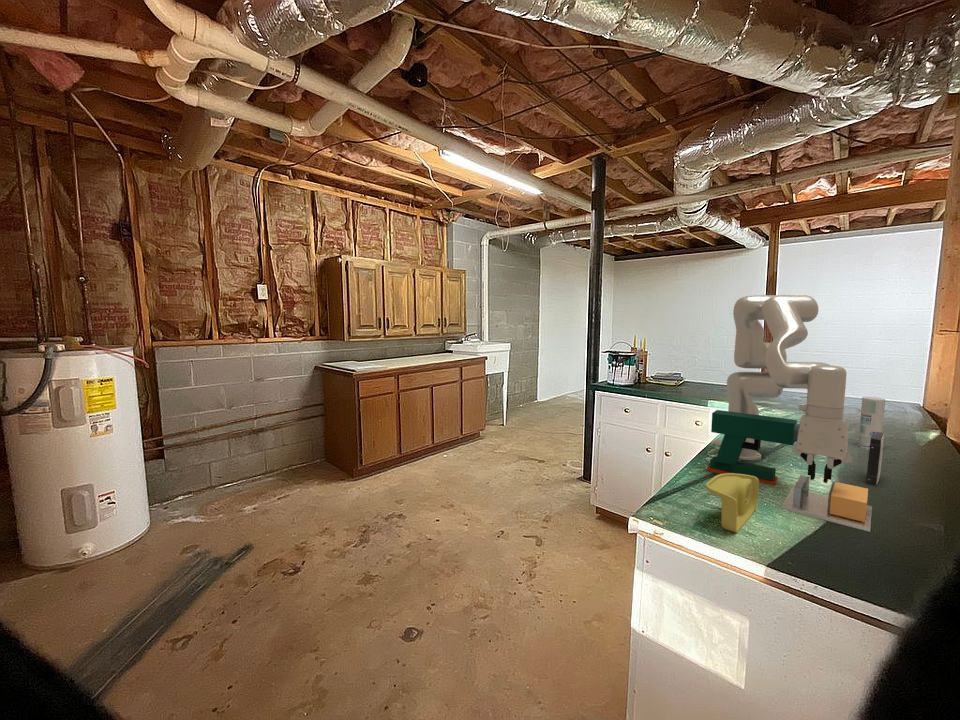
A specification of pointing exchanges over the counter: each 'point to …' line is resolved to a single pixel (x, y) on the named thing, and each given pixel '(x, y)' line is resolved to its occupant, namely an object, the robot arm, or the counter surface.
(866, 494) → the block
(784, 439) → the power tool
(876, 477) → the disk drive
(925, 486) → the counter surface
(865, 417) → the tall white carton
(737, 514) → the plastic component
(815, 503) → the vise base
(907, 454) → the counter surface
